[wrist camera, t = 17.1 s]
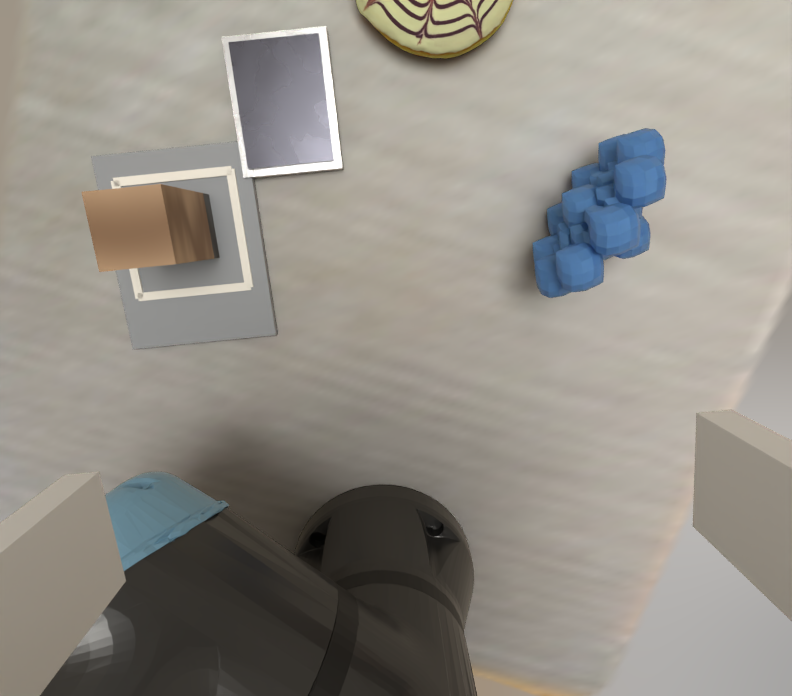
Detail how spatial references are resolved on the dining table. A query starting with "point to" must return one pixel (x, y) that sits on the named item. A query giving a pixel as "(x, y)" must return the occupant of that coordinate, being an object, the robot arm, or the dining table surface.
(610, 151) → the grapes
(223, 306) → the board
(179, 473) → the dining table surface
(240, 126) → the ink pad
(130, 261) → the brown wooden block
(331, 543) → the robot arm
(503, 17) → the decorated donut
